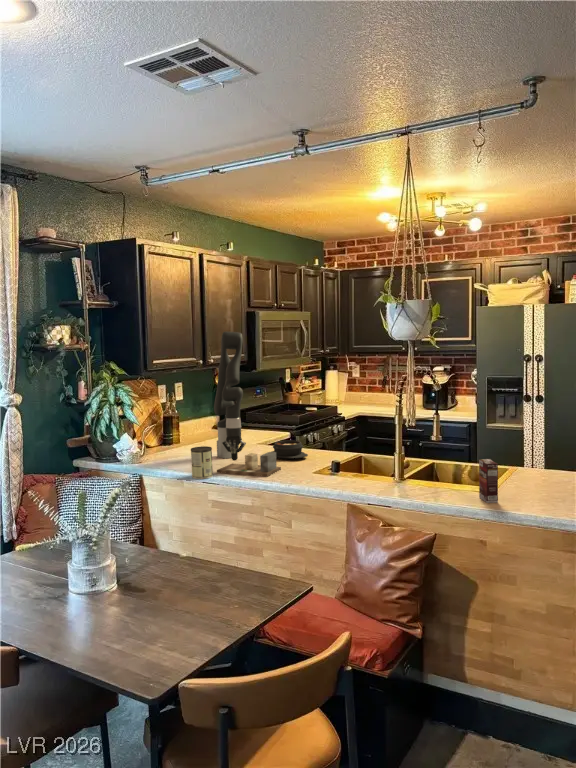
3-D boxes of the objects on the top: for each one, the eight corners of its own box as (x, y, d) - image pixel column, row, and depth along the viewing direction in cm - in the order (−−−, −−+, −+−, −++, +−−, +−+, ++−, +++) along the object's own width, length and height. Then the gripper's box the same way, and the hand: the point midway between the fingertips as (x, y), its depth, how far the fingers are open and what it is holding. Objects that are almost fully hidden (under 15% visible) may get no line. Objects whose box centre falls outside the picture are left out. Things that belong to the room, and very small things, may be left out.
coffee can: (197, 473, 308) (196, 445, 307) (216, 474, 304) (215, 446, 303) (187, 478, 298) (186, 449, 297) (207, 479, 295) (206, 450, 294)
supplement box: (478, 497, 251) (478, 459, 250) (490, 497, 251) (490, 458, 250) (486, 503, 242) (486, 463, 241) (498, 502, 243) (498, 463, 241)
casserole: (261, 457, 346) (260, 442, 345) (285, 452, 358) (285, 437, 358) (290, 463, 327) (290, 447, 327) (315, 457, 340) (315, 442, 339)
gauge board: (216, 472, 308) (216, 454, 308) (232, 466, 323) (231, 448, 322) (267, 476, 297) (266, 457, 296) (280, 469, 312) (280, 451, 311)
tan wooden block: (241, 470, 304) (241, 456, 303) (250, 466, 313) (250, 453, 312) (248, 471, 302) (248, 457, 302) (257, 467, 311) (257, 453, 311)
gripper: (218, 427, 311) (219, 460, 312) (241, 428, 305) (242, 462, 307) (225, 424, 317) (226, 458, 319) (248, 425, 312) (249, 459, 314)
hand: (234, 460), depth 313 cm, fingers closed
